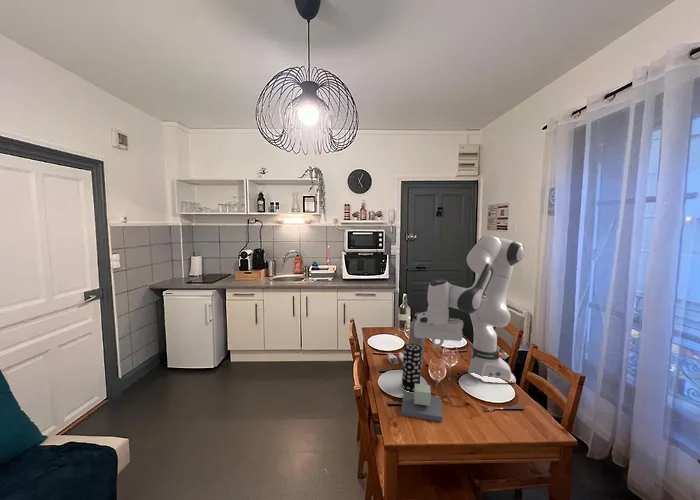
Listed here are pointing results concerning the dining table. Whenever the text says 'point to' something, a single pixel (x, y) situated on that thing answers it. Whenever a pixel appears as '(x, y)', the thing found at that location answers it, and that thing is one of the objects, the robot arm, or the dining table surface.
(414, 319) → the thermos bottle
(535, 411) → the dining table surface
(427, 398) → the sage green cube
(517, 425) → the dining table surface
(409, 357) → the white-spotted black cylinder
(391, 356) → the salt and pepper shakers
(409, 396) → the charcoal board
